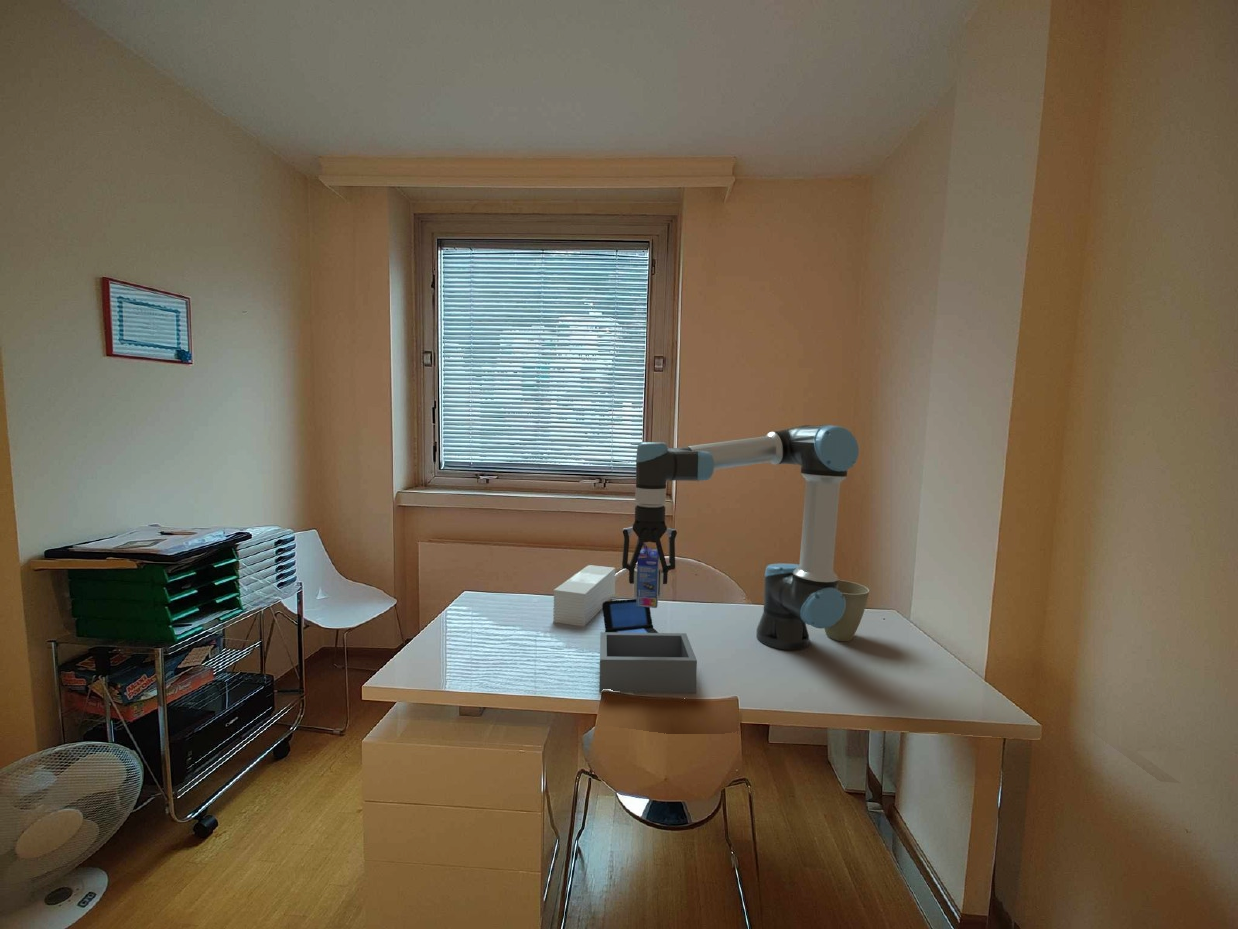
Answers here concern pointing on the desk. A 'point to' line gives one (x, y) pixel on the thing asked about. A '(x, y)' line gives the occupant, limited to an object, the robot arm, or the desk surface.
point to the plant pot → (849, 611)
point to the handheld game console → (627, 617)
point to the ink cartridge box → (647, 578)
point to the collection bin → (647, 663)
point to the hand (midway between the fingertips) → (647, 596)
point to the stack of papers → (583, 595)
